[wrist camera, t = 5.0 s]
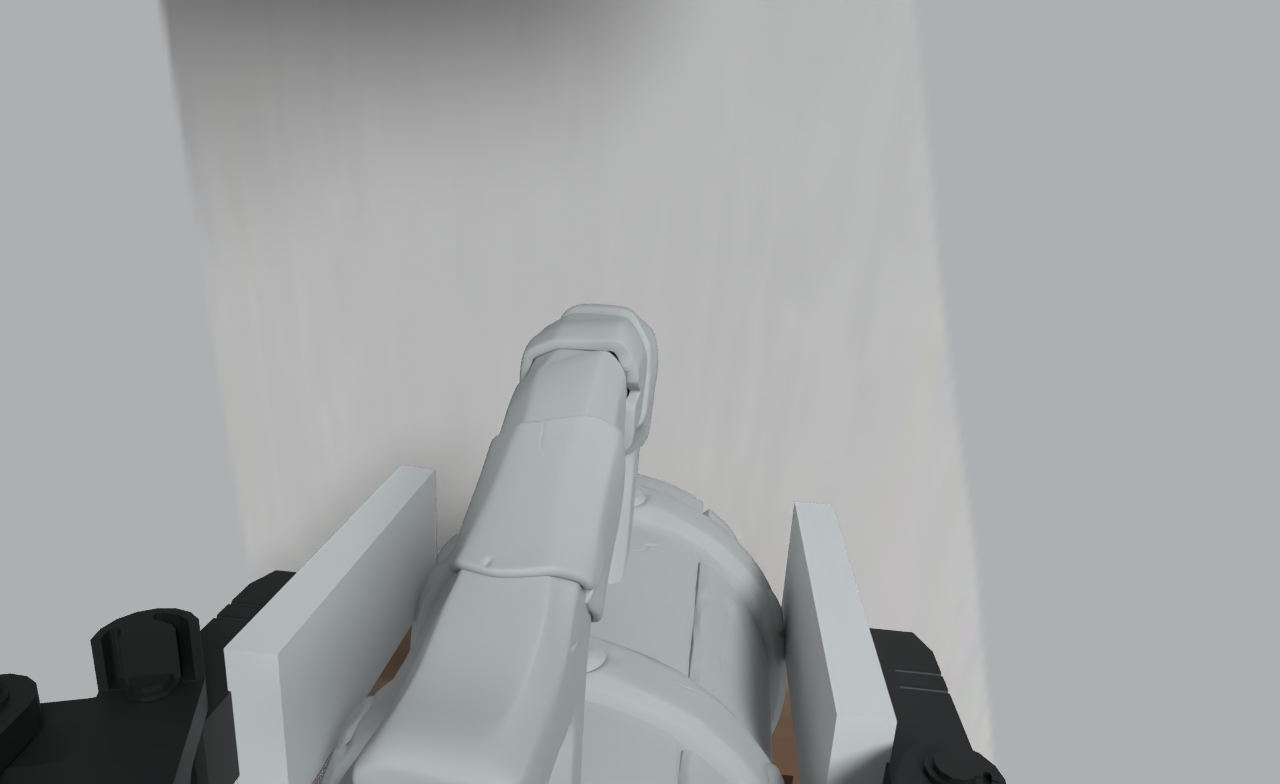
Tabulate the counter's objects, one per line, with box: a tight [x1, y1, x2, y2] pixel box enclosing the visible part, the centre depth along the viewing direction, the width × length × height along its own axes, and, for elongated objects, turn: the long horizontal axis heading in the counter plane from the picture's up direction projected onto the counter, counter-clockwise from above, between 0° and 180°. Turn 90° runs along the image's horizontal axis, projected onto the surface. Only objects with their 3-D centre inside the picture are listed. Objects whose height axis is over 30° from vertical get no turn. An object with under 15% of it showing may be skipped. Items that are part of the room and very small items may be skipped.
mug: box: [321, 304, 787, 784], centre depth 12 cm, size 8×12×12 cm, turn 176°
